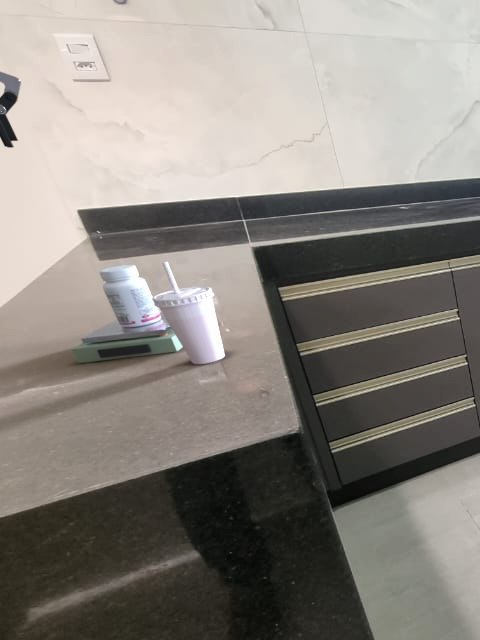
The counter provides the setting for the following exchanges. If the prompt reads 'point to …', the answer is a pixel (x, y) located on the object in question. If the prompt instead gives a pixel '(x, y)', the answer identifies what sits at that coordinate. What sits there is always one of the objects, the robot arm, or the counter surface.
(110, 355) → the scale
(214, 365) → the counter surface
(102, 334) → the pan
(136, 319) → the pill bottle
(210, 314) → the smoothie
